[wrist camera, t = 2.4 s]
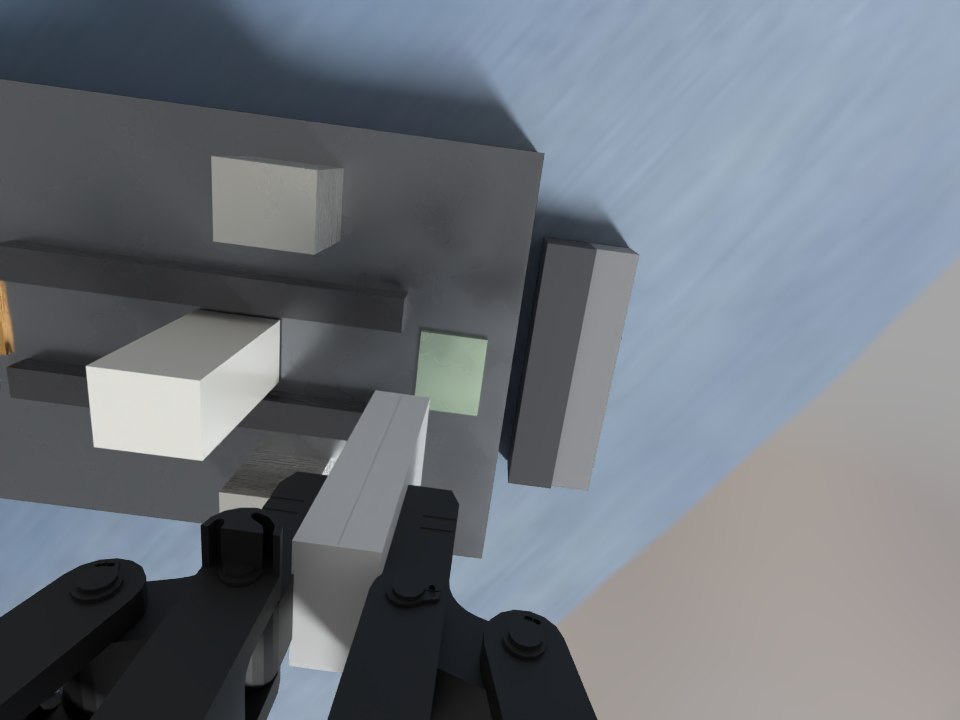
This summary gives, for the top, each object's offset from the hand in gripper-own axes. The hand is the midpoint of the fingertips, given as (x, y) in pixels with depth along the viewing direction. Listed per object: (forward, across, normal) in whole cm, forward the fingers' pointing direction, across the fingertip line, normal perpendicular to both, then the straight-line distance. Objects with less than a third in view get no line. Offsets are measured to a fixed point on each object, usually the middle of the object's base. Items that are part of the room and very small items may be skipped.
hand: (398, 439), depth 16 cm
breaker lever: (+6, -7, 0) cm, 9 cm away
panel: (+9, -8, 0) cm, 12 cm away
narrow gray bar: (+9, +5, 0) cm, 10 cm away
